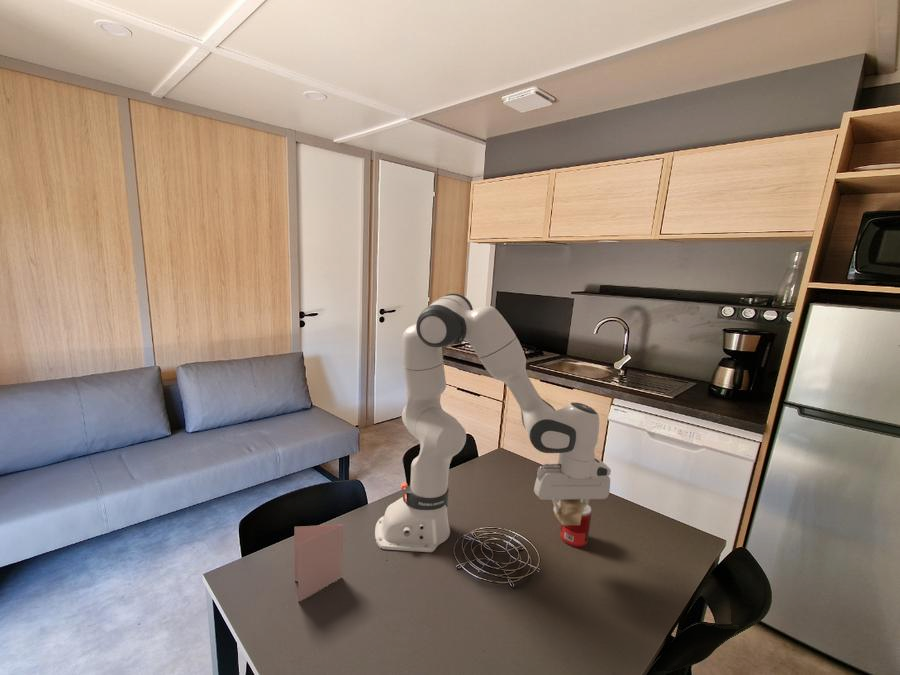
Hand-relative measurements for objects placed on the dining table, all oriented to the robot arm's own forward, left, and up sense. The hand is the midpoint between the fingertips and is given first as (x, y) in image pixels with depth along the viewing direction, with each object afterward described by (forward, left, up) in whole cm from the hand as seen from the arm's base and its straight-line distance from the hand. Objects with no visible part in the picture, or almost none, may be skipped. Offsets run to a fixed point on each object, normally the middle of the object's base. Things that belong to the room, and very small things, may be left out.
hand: (568, 512), depth 107 cm
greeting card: (-65, -1, -16) cm, 67 cm away
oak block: (0, 0, -2) cm, 2 cm away
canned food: (+8, +10, -16) cm, 21 cm away
